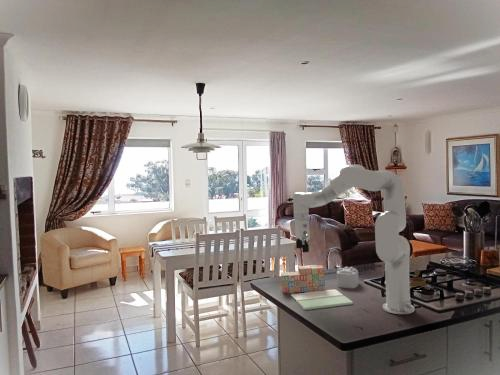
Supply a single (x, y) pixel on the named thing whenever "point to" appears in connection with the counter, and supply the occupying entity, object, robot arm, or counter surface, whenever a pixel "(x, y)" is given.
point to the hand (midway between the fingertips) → (302, 250)
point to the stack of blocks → (304, 279)
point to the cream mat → (316, 295)
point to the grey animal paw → (347, 277)
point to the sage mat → (325, 302)
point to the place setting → (417, 280)
